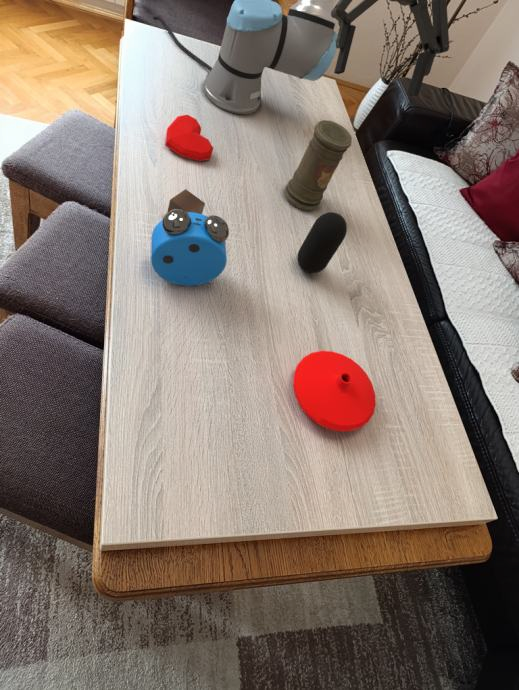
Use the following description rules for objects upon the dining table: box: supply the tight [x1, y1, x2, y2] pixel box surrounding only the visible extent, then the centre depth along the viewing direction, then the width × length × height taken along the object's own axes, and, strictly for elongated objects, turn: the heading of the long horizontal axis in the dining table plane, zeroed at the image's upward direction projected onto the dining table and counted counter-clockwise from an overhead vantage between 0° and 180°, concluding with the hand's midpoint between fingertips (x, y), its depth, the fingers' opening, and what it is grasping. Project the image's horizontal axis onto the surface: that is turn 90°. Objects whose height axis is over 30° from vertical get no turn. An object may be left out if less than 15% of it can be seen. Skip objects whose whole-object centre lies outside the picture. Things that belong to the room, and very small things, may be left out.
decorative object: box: [296, 211, 348, 275], centre depth 101 cm, size 7×7×15 cm
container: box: [284, 119, 353, 212], centre depth 112 cm, size 9×9×18 cm
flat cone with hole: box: [292, 350, 377, 432], centre depth 87 cm, size 16×16×7 cm
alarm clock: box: [150, 209, 230, 287], centre depth 89 cm, size 13×6×15 cm, turn 96°
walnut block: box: [166, 188, 206, 215], centre depth 100 cm, size 5×5×5 cm
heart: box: [165, 114, 214, 162], centre depth 114 cm, size 12×4×10 cm
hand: (376, 84), depth 83 cm, fingers open, 13 cm apart
